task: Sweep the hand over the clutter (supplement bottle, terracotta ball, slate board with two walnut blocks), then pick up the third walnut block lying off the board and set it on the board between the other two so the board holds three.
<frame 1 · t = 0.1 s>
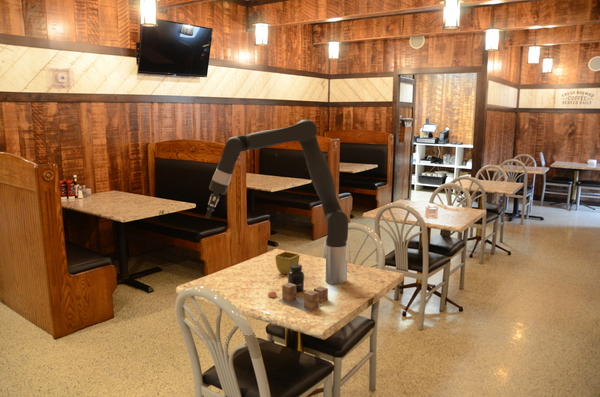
hand: (207, 216, 210), 31 cm above the table, tool tilted 20°, fingers open, 8 cm apart
block a: (289, 299, 197), point 1 cm above the table, touching slate board
block b: (311, 307, 188), point 1 cm above the table, touching slate board
flower pot: (287, 273, 233), on the table
supplement bottle: (295, 293, 207), on the table
slate board: (300, 306, 193), on the table
loose block: (320, 302, 196), on the table
ball: (272, 298, 200), on the table
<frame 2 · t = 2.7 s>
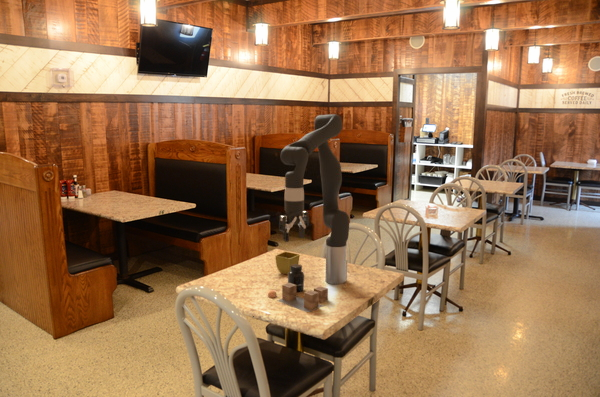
hand: (294, 239, 190), 27 cm above the table, tool pointing down, fingers open, 8 cm apart
nothing on the table moved.
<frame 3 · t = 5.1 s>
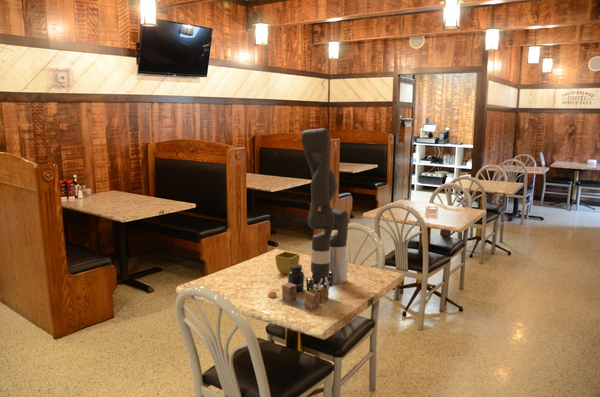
hand: (319, 299, 196), 1 cm above the table, tool pointing down, fingers open, 6 cm apart
block b: (311, 306, 188), point 1 cm above the table, tilted 7°, touching slate board
everything else where it was.
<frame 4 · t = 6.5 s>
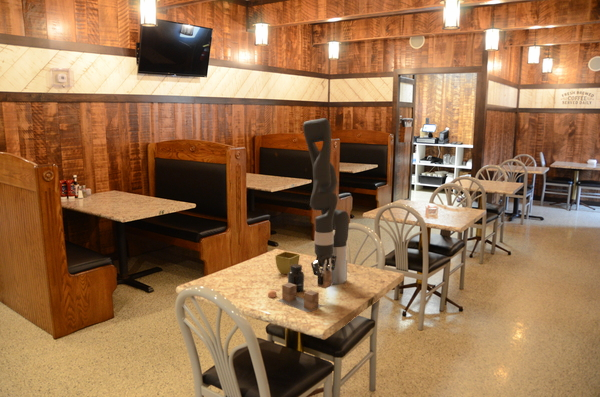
hand: (324, 282, 195), 8 cm above the table, tool pointing down, fingers closed on loose block, 4 cm apart
block b: (311, 307, 188), point 1 cm above the table, touching slate board
loose block: (324, 286, 195), point 7 cm above the table, touching gripper
everything else where it was.
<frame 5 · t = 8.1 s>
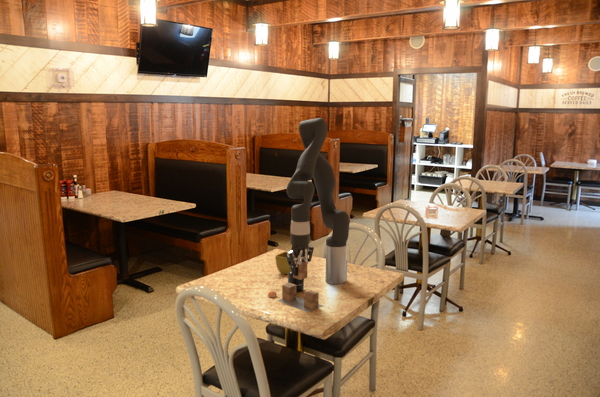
hand: (299, 274, 190), 13 cm above the table, tool pointing down, fingers closed on loose block, 4 cm apart
loose block: (300, 277, 191), point 12 cm above the table, touching gripper
everything else where it was.
when the fingers open (3 cm above the table, at t = 10.1 s): loose block stays where it is, resting on slate board.
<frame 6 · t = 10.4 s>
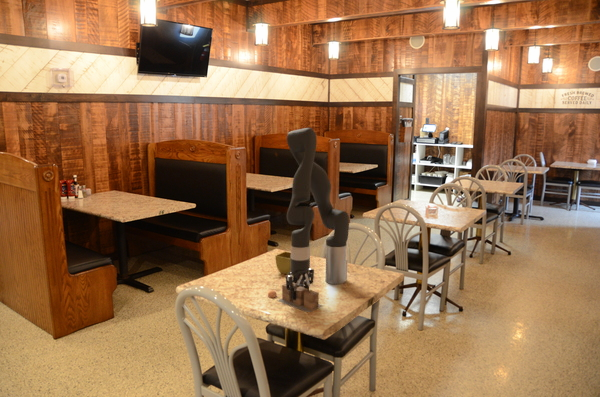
hand: (300, 297, 192), 4 cm above the table, tool pointing down, fingers open, 6 cm apart
loose block: (300, 303, 192), point 1 cm above the table, touching slate board
everything else where it was.
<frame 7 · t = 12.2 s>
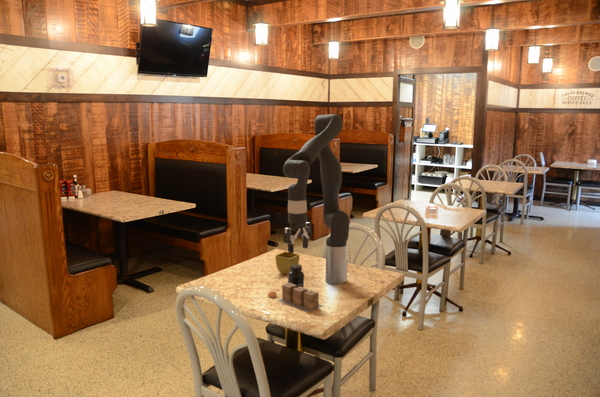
hand: (298, 250, 194), 21 cm above the table, tool pointing down, fingers open, 8 cm apart
nothing on the table moved.
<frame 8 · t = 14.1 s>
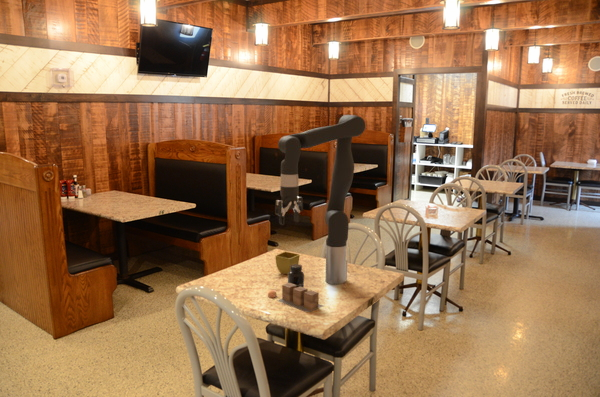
hand: (289, 223, 203), 30 cm above the table, tool pointing down, fingers open, 8 cm apart
nothing on the table moved.
at the end: loose block inside the target area on the slate board (0.1 cm from its centre), point 1.2 cm above the slate board's base; loose block tilted 0°; the gripper is holding nothing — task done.
